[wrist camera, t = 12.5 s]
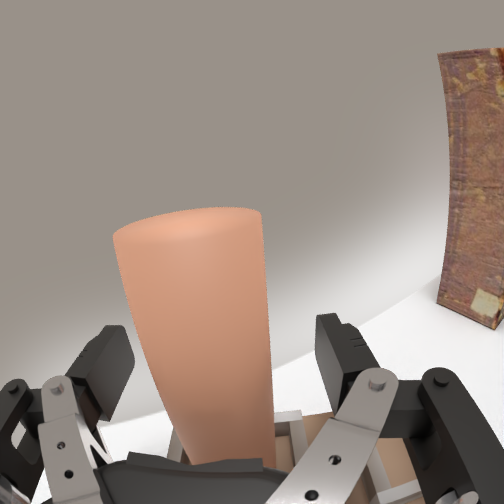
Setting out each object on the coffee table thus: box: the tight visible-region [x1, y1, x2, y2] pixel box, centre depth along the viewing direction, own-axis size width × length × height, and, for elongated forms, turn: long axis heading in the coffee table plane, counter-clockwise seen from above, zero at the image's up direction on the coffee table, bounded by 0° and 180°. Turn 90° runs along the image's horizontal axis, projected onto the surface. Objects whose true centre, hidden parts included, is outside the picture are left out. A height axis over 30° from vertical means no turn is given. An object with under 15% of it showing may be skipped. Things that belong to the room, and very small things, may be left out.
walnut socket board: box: [167, 410, 425, 504], centre depth 10 cm, size 18×14×3 cm
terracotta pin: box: [113, 207, 277, 469], centre depth 10 cm, size 4×4×14 cm
